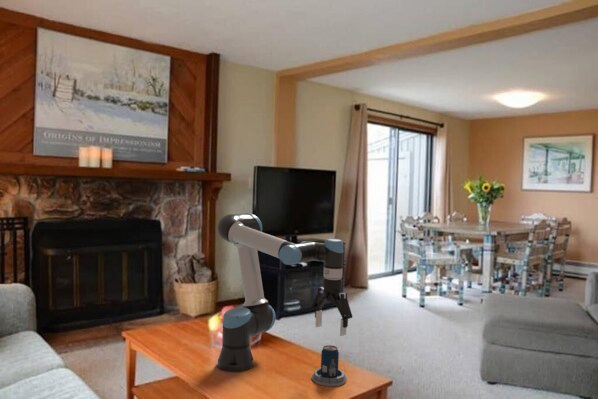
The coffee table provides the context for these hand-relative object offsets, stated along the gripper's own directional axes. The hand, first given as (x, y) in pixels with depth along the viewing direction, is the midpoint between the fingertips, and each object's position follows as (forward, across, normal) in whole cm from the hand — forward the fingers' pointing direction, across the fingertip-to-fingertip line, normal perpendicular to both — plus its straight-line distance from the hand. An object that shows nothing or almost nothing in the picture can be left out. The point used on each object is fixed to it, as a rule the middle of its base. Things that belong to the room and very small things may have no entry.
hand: (330, 330), depth 191 cm
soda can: (+19, 0, 0) cm, 19 cm away
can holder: (+20, 0, 0) cm, 20 cm away
